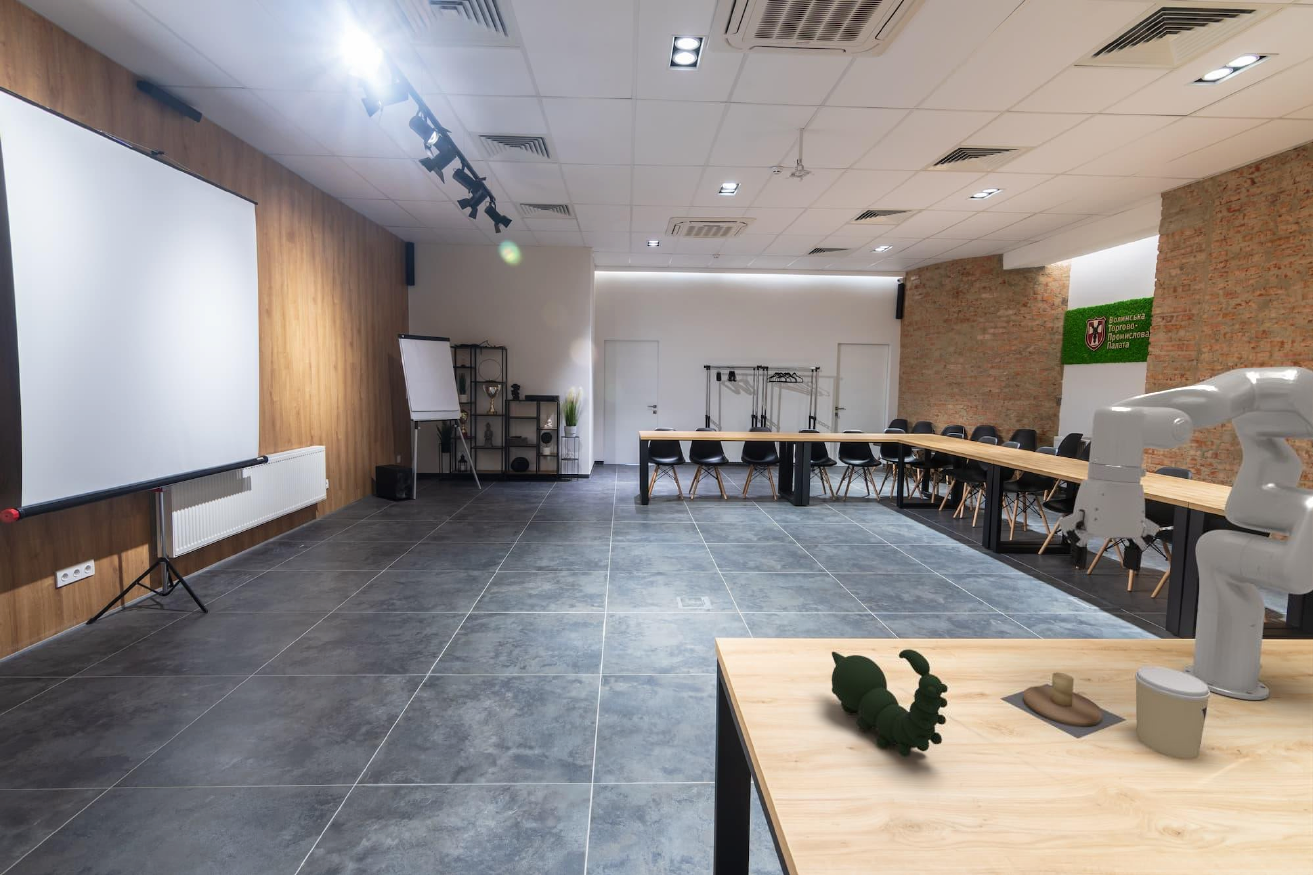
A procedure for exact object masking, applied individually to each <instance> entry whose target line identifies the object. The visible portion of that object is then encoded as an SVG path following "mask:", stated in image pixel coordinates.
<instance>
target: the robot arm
mask: <svg viewBox="0 0 1313 875" xmlns="http://www.w3.org/2000/svg"><path fill="white" fill-rule="evenodd" d="M1092 420H1093V421H1092V428H1091V429H1092V430H1091V438H1090V439H1091V440H1090V448H1089V457H1088V458H1089V460H1088V468H1087V478H1086V479H1081V480H1082V481H1081V483H1080V486H1079V487H1078V488H1079V489H1078V490H1077V494H1076V498H1075V501H1074V507H1073V513H1071V514H1068V515H1067V516H1064V517H1062V518H1060V519H1059V520H1058V525H1059V527H1060V530H1061V532H1062V535H1063V536H1064V537H1065V538H1066V539H1067V542H1068V543H1069V544H1070V551H1069V564H1070V565H1072V566H1074V567H1075V568H1078V569H1080V570H1081V569H1085V568H1086V567H1087V560H1088V558H1087V557H1088V547H1087V546H1085V545H1086V544H1087V543H1088V542H1089V541H1090V540H1091V539H1092V538H1101V539H1102V538H1105V539H1106V538H1107V539H1124V540H1125V542H1126V543H1127V544H1128V545H1124V549H1123V557H1122V559H1123V560H1122V567H1123V568H1125V569H1128V570H1129V571H1130V570H1131V571H1133V572H1138V573H1139V572H1140V571H1141V567H1142V566H1141V565H1142V556H1143V551H1145V550H1147V548H1148V545H1149V544H1150V543H1151V542H1153V541H1154V538H1155V536H1156V534H1157V533H1158V532H1159V530H1160V525H1159V524H1156V523H1155V522H1154V521H1152V520H1151V519H1148V518H1147V517H1146V501H1145V500H1146V499H1145V491H1144V485H1143V484H1141V478H1145V477H1146V476H1147V472H1146V470H1144V469H1143V467H1142V466H1143V459H1144V458H1143V457H1144V451H1145V450H1144V449H1155V450H1172V449H1176V448H1179V447H1181V446H1183V445H1185V444H1186V443H1187V442H1189V441H1190V439H1191V438H1192V436H1193V433H1194V430H1198V429H1206V428H1207V429H1208V428H1212V427H1216V426H1219V425H1222V424H1225V423H1226V422H1228V421H1231V424H1232V426H1233V428H1234V431H1235V432H1236V435H1237V438H1238V441H1239V443H1240V448H1241V450H1242V461H1241V465H1240V467H1239V470H1238V473H1237V475H1236V478H1235V480H1234V482H1233V483H1232V486H1231V488H1230V489H1231V490H1230V491H1229V493H1228V494H1229V495H1228V496H1227V499H1226V502H1225V504H1224V505H1225V506H1224V510H1223V512H1224V516H1225V518H1226V520H1227V521H1228V522H1230V523H1231V524H1233V525H1235V526H1238V527H1240V528H1245V529H1249V530H1253V531H1254V530H1255V531H1259V532H1263V533H1270V534H1274V535H1281V536H1286V537H1288V539H1287V540H1284V539H1279V538H1273V537H1267V536H1263V535H1258V534H1252V533H1248V532H1242V531H1238V530H1229V529H1214V530H1210V531H1208V532H1205V533H1204V534H1202V535H1200V537H1199V538H1198V540H1197V543H1196V545H1195V559H1196V564H1197V570H1198V578H1199V581H1198V582H1199V583H1198V584H1199V585H1198V586H1199V587H1198V588H1199V589H1198V603H1197V615H1196V625H1195V626H1196V628H1195V638H1194V650H1193V664H1190V665H1189V664H1188V665H1186V666H1184V667H1183V668H1182V672H1183V673H1186V674H1189V675H1191V676H1193V677H1195V678H1197V679H1199V680H1201V681H1202V682H1204V683H1205V684H1206V685H1207V687H1208V689H1209V691H1210V692H1212V693H1216V694H1219V695H1222V696H1225V697H1231V698H1235V699H1241V700H1250V701H1258V700H1261V701H1262V700H1266V699H1268V698H1269V696H1270V689H1269V688H1268V687H1267V685H1265V684H1264V683H1262V682H1261V681H1259V678H1260V670H1261V669H1262V668H1263V665H1262V663H1261V655H1262V654H1261V653H1262V644H1263V632H1264V631H1263V630H1264V623H1265V622H1264V621H1265V613H1266V609H1265V606H1266V605H1265V601H1264V599H1263V597H1262V595H1261V593H1260V592H1259V590H1258V589H1257V587H1258V586H1259V587H1261V588H1262V587H1263V588H1266V589H1270V590H1274V591H1278V592H1282V593H1287V594H1292V595H1304V594H1308V593H1310V592H1312V591H1313V488H1305V487H1298V485H1299V481H1300V478H1301V476H1302V473H1303V470H1304V469H1303V468H1304V467H1303V462H1302V460H1301V458H1300V456H1299V455H1298V454H1297V452H1296V451H1295V450H1294V449H1293V448H1292V446H1290V444H1289V443H1288V442H1287V441H1286V439H1295V440H1308V441H1309V440H1312V441H1313V371H1312V370H1310V369H1308V368H1305V367H1300V366H1273V367H1272V366H1266V367H1244V368H1243V367H1241V368H1236V369H1232V370H1229V371H1226V372H1223V373H1221V374H1219V375H1215V376H1213V377H1211V378H1208V379H1206V380H1203V381H1200V382H1197V383H1194V384H1192V385H1188V386H1187V385H1186V386H1182V387H1176V388H1171V389H1167V390H1162V391H1158V392H1151V393H1147V394H1142V395H1137V396H1133V397H1129V398H1126V399H1123V400H1120V401H1117V402H1115V403H1112V404H1110V405H1105V406H1100V407H1098V408H1096V409H1095V410H1094V413H1093V419H1092ZM1073 530H1074V531H1073ZM1256 586H1257V587H1256Z"/></svg>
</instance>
